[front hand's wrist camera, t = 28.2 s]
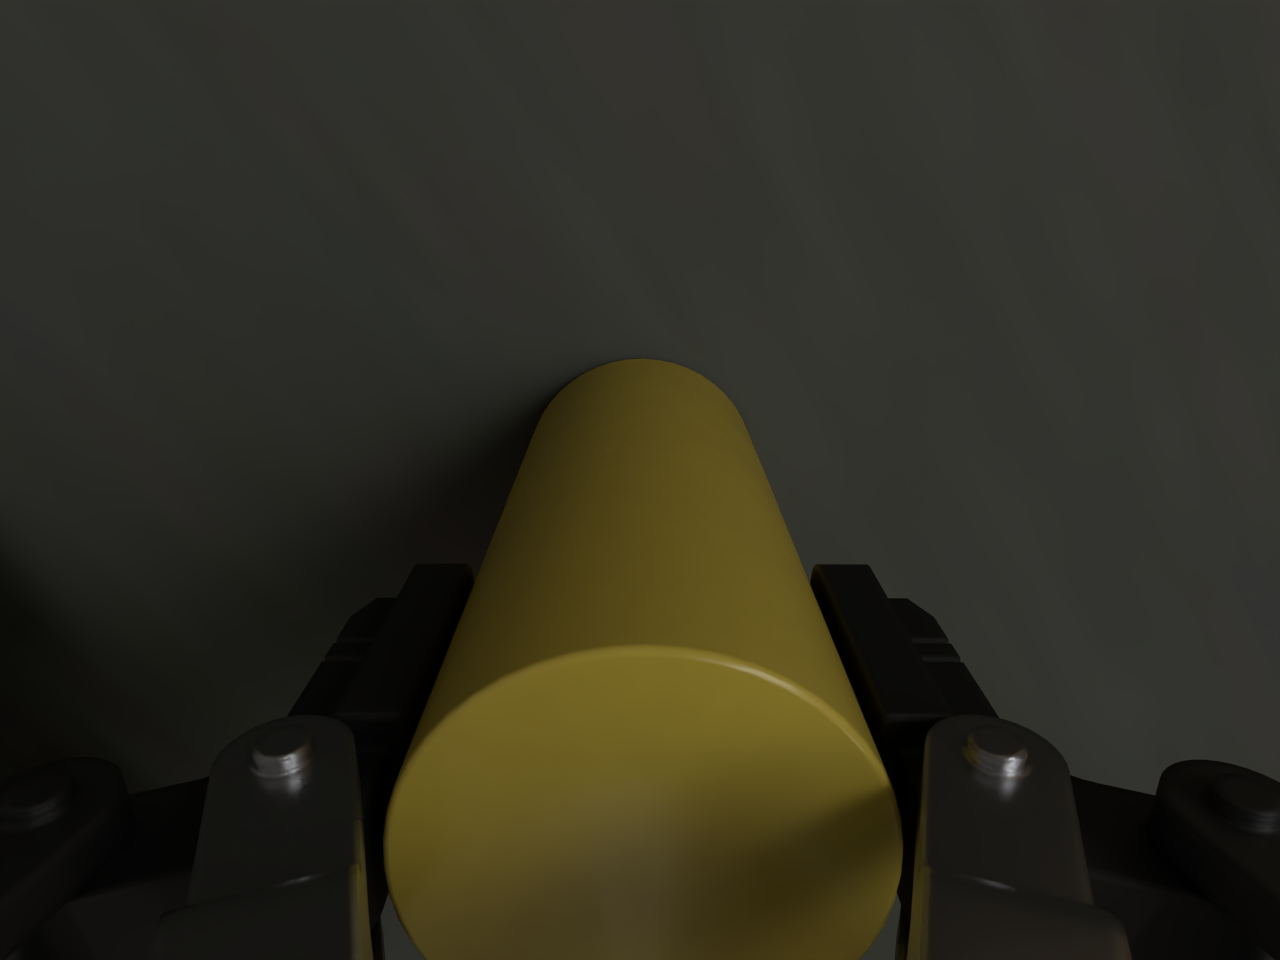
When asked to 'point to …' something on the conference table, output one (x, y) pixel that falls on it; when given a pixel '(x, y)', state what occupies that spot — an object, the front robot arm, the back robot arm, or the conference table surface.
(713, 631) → the can
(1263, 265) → the conference table surface
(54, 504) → the conference table surface
